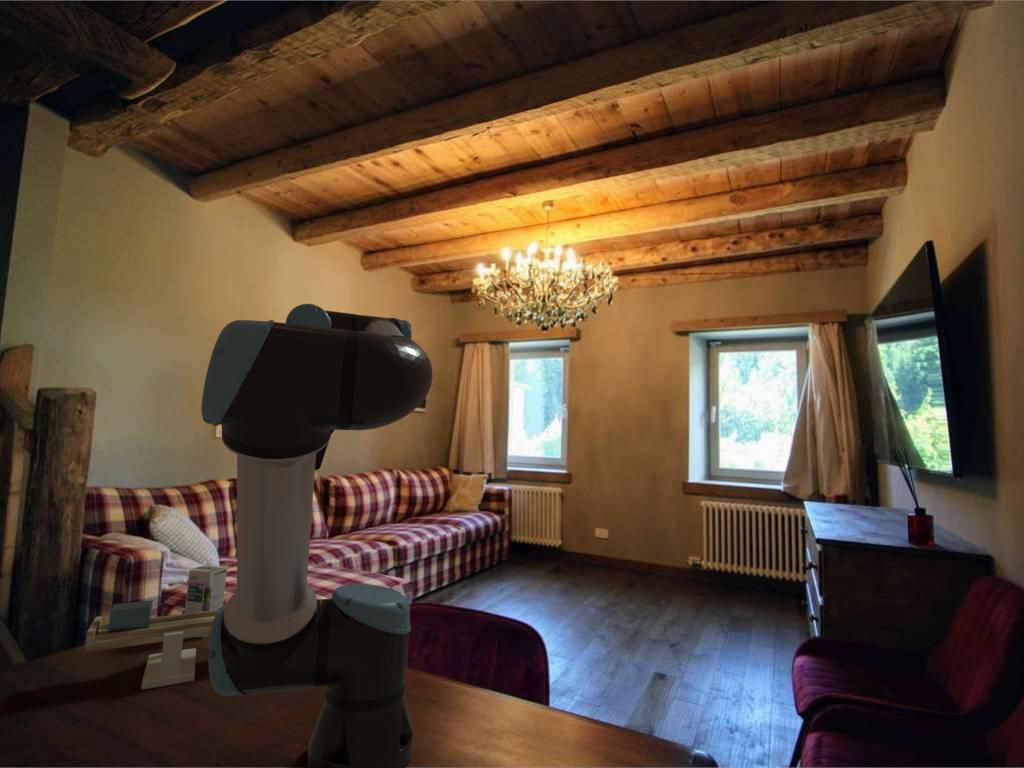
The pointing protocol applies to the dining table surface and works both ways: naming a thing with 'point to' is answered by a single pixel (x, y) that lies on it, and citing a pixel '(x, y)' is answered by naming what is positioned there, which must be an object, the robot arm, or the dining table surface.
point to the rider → (130, 616)
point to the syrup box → (205, 589)
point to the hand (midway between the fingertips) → (295, 506)
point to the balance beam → (149, 630)
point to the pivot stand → (170, 663)
